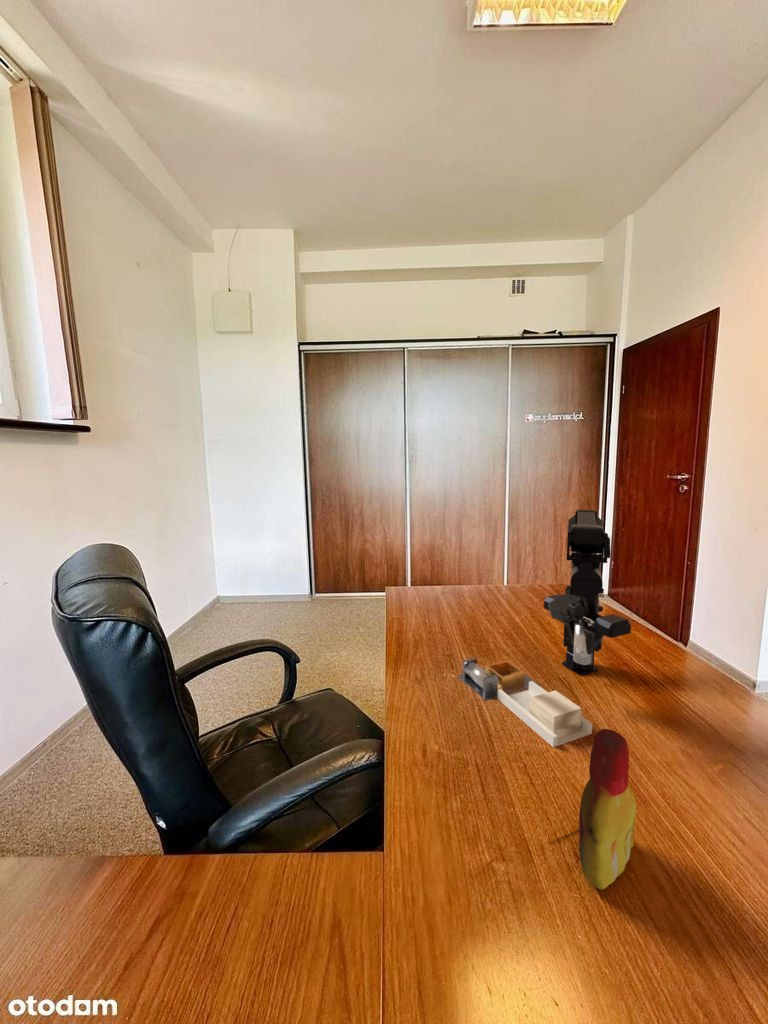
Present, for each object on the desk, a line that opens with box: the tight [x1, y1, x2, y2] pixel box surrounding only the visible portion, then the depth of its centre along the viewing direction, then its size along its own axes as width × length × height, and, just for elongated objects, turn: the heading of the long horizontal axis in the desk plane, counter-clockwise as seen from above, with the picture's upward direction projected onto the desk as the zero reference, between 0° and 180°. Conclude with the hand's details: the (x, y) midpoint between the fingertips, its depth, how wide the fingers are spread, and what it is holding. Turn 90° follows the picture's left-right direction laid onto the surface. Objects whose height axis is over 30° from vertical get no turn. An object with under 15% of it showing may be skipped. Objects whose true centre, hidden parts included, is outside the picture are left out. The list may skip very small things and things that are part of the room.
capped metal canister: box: [573, 619, 591, 665], centre depth 91 cm, size 4×4×10 cm
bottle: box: [578, 728, 637, 890], centre depth 56 cm, size 12×6×20 cm, turn 134°
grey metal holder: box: [457, 657, 541, 701], centre depth 103 cm, size 16×12×5 cm
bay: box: [497, 681, 593, 748], centre depth 89 cm, size 10×18×2 cm, turn 21°
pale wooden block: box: [529, 689, 582, 739], centre depth 86 cm, size 7×8×5 cm
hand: (582, 650), depth 92 cm, fingers closed on capped metal canister, 4 cm apart
